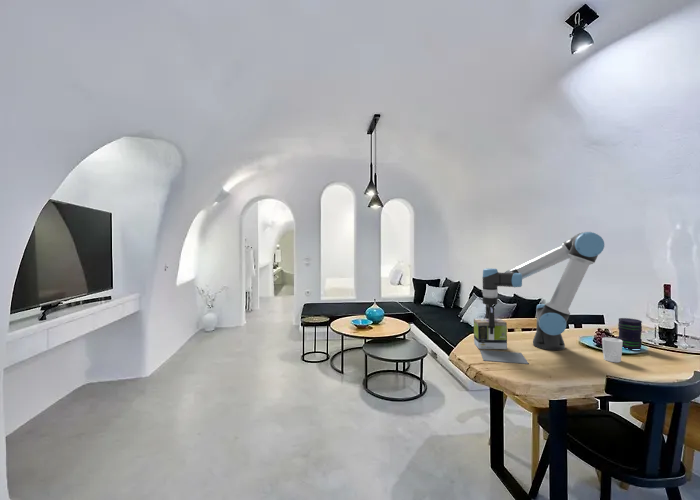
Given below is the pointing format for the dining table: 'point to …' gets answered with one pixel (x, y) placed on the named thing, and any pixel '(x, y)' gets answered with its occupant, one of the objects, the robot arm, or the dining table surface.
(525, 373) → the dining table surface
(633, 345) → the storage jar
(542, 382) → the dining table surface
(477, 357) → the dining table surface
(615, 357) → the white cup
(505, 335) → the tea box
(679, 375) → the dining table surface
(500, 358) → the mat
